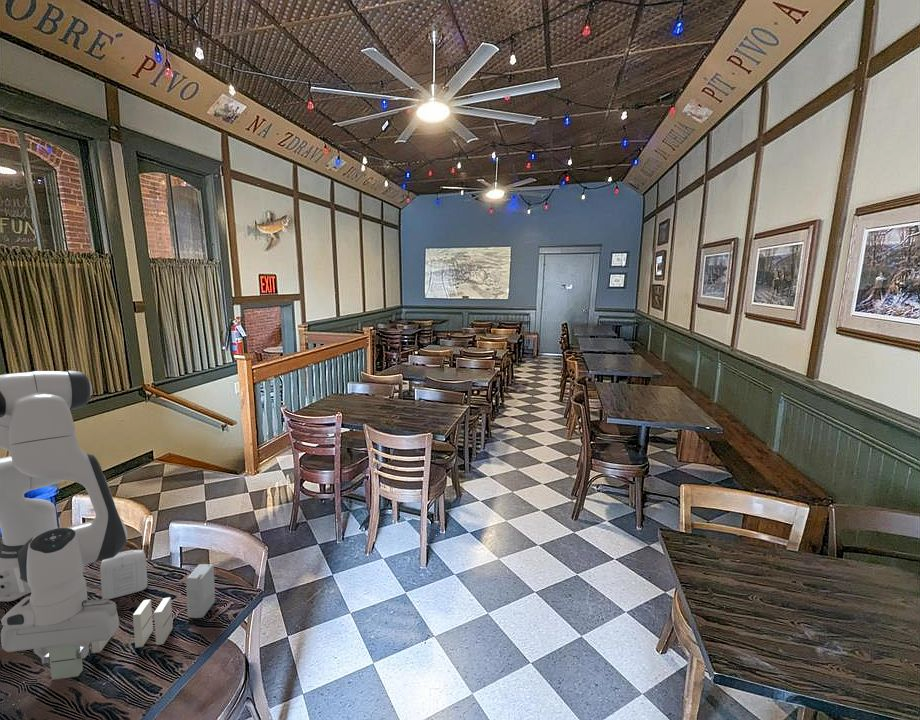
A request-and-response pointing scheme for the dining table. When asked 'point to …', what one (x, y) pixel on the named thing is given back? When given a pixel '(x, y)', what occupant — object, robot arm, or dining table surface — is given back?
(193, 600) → the skincare box
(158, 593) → the dining table surface
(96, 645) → the domino
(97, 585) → the dining table surface
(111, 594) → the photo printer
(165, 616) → the domino
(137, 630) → the domino
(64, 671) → the pale green domino
